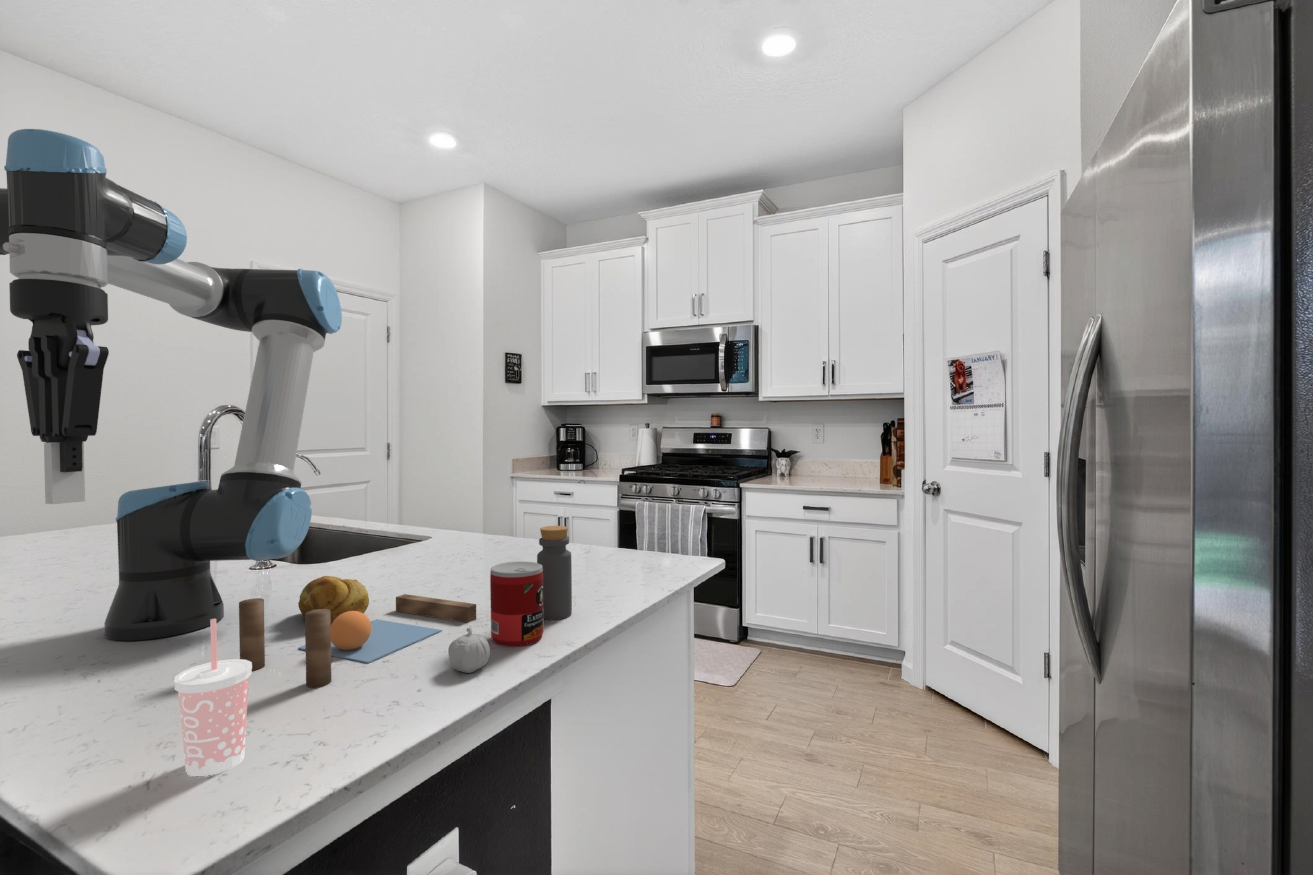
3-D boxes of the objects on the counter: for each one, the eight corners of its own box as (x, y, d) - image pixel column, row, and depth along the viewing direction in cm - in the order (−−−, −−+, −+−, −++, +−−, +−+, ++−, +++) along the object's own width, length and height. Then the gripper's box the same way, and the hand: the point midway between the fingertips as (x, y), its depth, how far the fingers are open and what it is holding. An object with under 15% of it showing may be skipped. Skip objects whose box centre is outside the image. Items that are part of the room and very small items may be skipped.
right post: (300, 685, 75) (299, 614, 75) (321, 676, 78) (320, 607, 78) (316, 689, 74) (315, 616, 74) (336, 680, 77) (335, 610, 77)
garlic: (457, 659, 84) (457, 622, 84) (496, 660, 83) (495, 623, 83) (440, 678, 78) (440, 638, 78) (482, 678, 77) (481, 638, 77)
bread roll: (285, 617, 103) (284, 571, 103) (343, 604, 110) (342, 560, 110) (319, 633, 95) (318, 582, 95) (379, 617, 103) (378, 571, 102)
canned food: (531, 649, 87) (531, 574, 87) (481, 645, 89) (480, 571, 89) (551, 631, 95) (550, 562, 95) (504, 628, 97) (503, 560, 96)
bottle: (530, 617, 102) (529, 529, 101) (549, 607, 107) (548, 524, 107) (560, 621, 100) (559, 531, 99) (578, 611, 105) (577, 526, 105)
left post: (235, 669, 80) (234, 602, 80) (256, 662, 83) (255, 597, 83) (248, 672, 79) (247, 605, 79) (269, 665, 82) (268, 599, 82)
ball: (343, 600, 90) (359, 628, 92) (314, 628, 85) (331, 655, 88) (370, 604, 87) (385, 632, 90) (340, 633, 83) (357, 661, 85)
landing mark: (298, 648, 88) (298, 647, 88) (376, 620, 101) (376, 619, 101) (368, 663, 82) (368, 661, 82) (441, 631, 95) (441, 629, 95)
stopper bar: (395, 611, 106) (395, 596, 106) (404, 607, 108) (404, 594, 107) (468, 622, 99) (468, 607, 99) (476, 618, 101) (476, 604, 101)
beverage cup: (159, 773, 56) (156, 625, 56) (226, 741, 62) (224, 606, 62) (203, 787, 54) (200, 633, 54) (268, 753, 60) (266, 613, 60)
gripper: (-19, 282, 64) (-13, 503, 64) (45, 269, 59) (51, 509, 59) (72, 296, 71) (77, 496, 71) (136, 285, 66) (141, 501, 66)
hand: (65, 502), depth 65 cm, fingers closed
